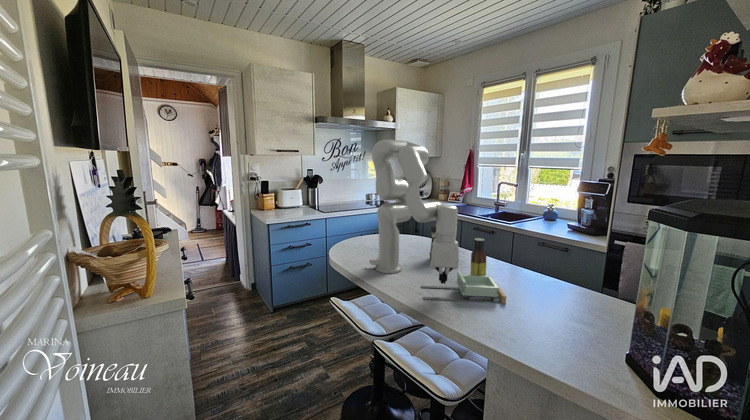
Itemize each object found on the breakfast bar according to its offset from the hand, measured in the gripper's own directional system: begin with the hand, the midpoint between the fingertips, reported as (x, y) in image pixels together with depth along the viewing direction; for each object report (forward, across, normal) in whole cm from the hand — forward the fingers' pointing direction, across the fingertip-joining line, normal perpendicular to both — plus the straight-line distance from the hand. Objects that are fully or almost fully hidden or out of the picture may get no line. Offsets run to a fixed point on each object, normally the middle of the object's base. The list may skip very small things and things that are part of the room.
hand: (442, 282), depth 118 cm
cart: (+4, +13, 0) cm, 14 cm away
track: (+4, +7, 0) cm, 8 cm away
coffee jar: (+5, +4, +40) cm, 40 cm away
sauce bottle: (+5, +16, +10) cm, 19 cm away
